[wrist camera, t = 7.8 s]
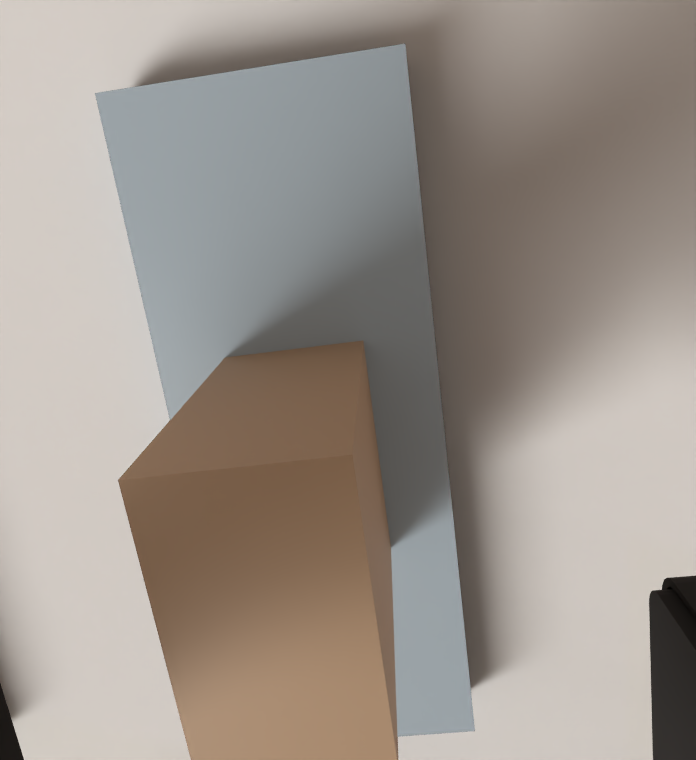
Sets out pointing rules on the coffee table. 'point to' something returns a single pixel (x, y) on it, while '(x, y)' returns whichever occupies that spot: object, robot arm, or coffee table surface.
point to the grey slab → (292, 410)
